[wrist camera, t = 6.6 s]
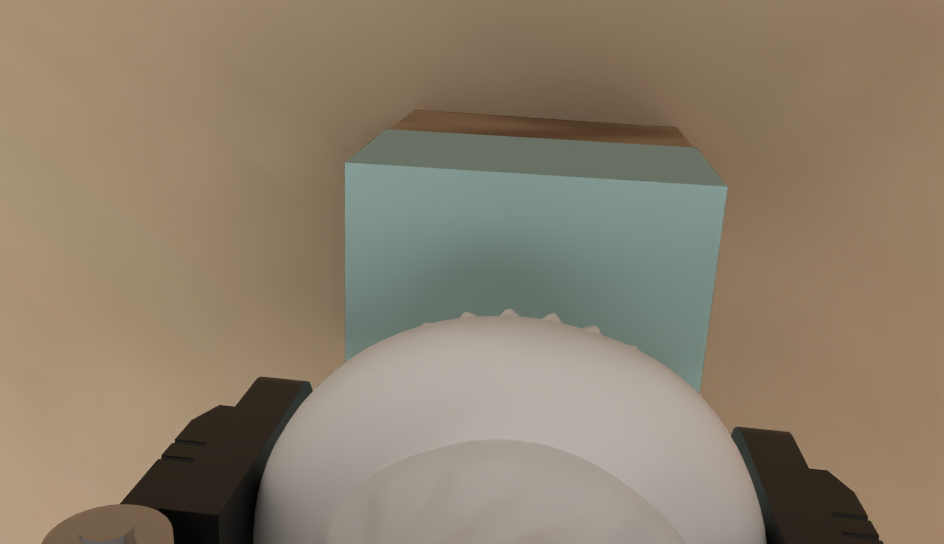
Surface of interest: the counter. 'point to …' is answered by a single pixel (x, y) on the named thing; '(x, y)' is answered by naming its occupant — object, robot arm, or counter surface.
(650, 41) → the counter surface
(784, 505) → the robot arm
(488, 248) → the tower top
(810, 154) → the counter surface
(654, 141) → the tower bottom
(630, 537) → the white rounded piece
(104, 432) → the counter surface
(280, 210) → the counter surface
